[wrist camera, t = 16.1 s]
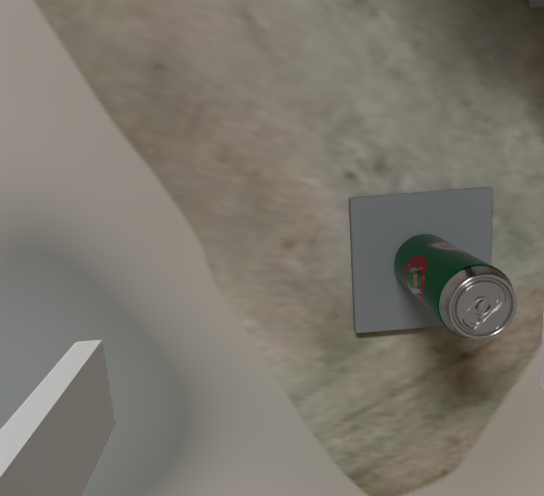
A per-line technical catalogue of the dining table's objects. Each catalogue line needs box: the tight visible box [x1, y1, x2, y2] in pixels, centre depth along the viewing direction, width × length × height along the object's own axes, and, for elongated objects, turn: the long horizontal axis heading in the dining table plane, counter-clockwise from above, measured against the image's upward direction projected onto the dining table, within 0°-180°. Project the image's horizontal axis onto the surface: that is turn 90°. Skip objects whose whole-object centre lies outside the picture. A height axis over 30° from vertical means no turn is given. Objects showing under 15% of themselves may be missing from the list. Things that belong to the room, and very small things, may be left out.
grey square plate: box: [349, 187, 492, 333], centre depth 44 cm, size 12×12×1 cm
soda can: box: [394, 234, 516, 339], centre depth 37 cm, size 5×5×12 cm
